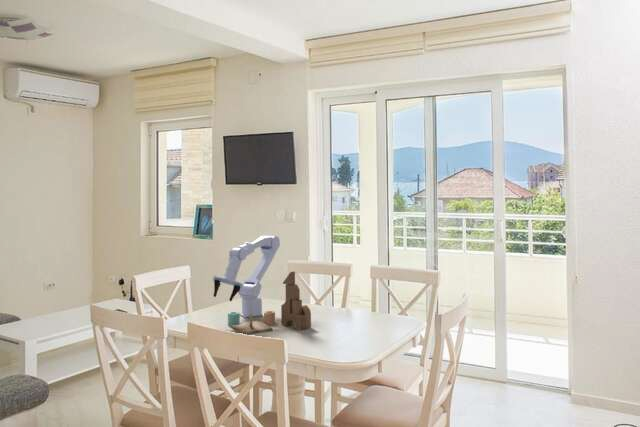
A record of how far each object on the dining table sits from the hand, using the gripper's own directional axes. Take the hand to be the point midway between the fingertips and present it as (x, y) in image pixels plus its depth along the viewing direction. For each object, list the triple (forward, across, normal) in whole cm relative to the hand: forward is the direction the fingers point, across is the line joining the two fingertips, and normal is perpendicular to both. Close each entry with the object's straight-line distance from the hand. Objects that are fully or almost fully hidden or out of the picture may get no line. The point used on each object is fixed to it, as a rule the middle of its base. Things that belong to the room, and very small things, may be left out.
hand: (222, 298), depth 229 cm
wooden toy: (+4, +36, -1) cm, 36 cm away
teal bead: (+9, +8, +5) cm, 13 cm away
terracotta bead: (+4, +24, +5) cm, 25 cm away
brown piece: (+10, +17, -3) cm, 20 cm away
